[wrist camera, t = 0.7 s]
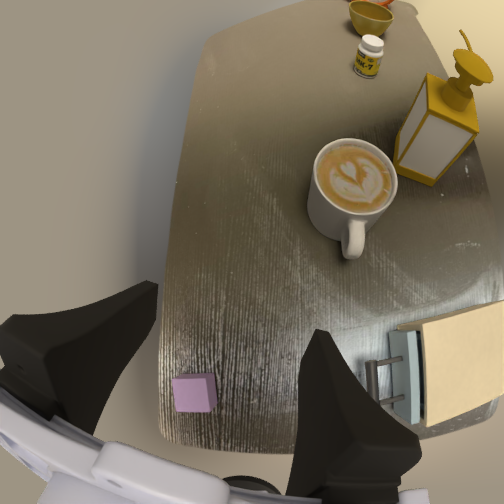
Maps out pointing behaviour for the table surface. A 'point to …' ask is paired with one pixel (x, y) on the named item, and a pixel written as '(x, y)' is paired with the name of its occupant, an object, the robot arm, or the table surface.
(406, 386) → the drawer
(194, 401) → the block
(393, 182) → the coffee mug
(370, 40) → the supplement bottle
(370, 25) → the flower pot
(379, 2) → the alarm clock
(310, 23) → the table surface
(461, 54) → the soap bottle
